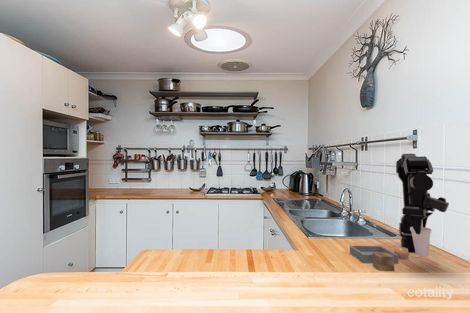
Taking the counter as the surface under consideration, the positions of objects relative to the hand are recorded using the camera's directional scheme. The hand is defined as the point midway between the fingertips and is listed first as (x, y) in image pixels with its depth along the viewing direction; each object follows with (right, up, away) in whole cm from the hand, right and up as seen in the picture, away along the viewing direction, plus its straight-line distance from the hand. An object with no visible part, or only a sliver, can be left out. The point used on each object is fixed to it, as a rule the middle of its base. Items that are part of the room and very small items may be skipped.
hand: (420, 232), depth 92 cm
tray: (-11, -14, +11) cm, 21 cm away
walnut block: (-14, -13, 0) cm, 19 cm away
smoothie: (0, -8, -1) cm, 8 cm away
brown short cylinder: (+1, -14, +12) cm, 18 cm away
